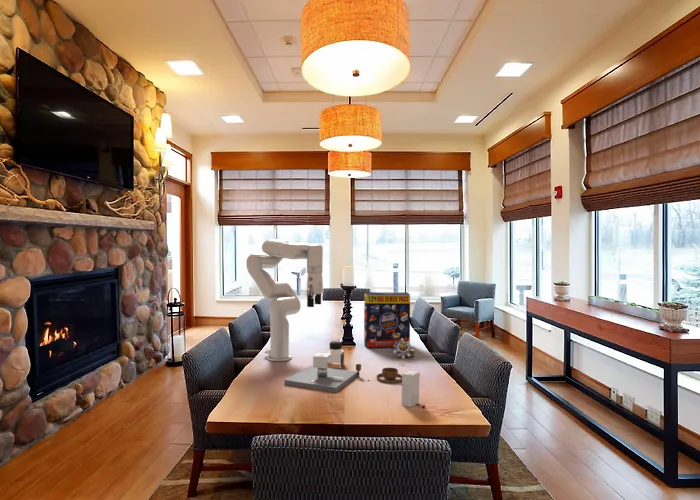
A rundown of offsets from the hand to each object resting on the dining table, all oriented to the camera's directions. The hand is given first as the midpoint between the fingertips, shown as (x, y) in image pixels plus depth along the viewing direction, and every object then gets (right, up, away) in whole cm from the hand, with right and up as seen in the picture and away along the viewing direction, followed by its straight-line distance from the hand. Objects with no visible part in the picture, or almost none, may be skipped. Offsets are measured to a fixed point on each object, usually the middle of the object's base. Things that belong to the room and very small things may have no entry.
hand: (314, 305), depth 212 cm
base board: (+5, -31, -18) cm, 36 cm away
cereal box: (+39, -30, +48) cm, 69 cm away
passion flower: (+46, -31, +24) cm, 60 cm away
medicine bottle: (+10, -31, +5) cm, 33 cm away
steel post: (+5, -29, -18) cm, 34 cm away
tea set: (+32, -32, -13) cm, 47 cm away
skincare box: (+40, -32, -45) cm, 68 cm away
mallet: (+7, -24, -19) cm, 32 cm away
